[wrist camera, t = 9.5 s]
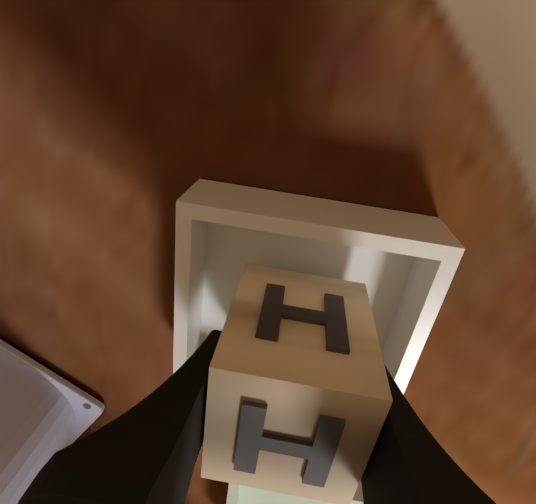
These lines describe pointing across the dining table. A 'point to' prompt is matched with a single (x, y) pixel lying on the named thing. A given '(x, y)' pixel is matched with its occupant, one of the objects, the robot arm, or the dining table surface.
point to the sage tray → (275, 496)
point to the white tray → (310, 261)
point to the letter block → (295, 387)
